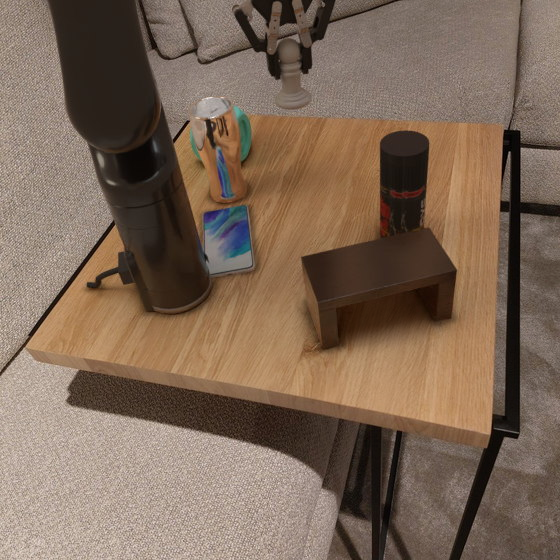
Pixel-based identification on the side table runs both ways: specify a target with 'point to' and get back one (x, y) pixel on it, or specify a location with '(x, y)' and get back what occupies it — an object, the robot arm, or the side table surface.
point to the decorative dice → (244, 134)
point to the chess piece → (291, 77)
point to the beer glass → (219, 146)
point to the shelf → (377, 277)
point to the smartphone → (228, 241)
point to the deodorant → (403, 182)
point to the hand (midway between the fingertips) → (290, 74)
